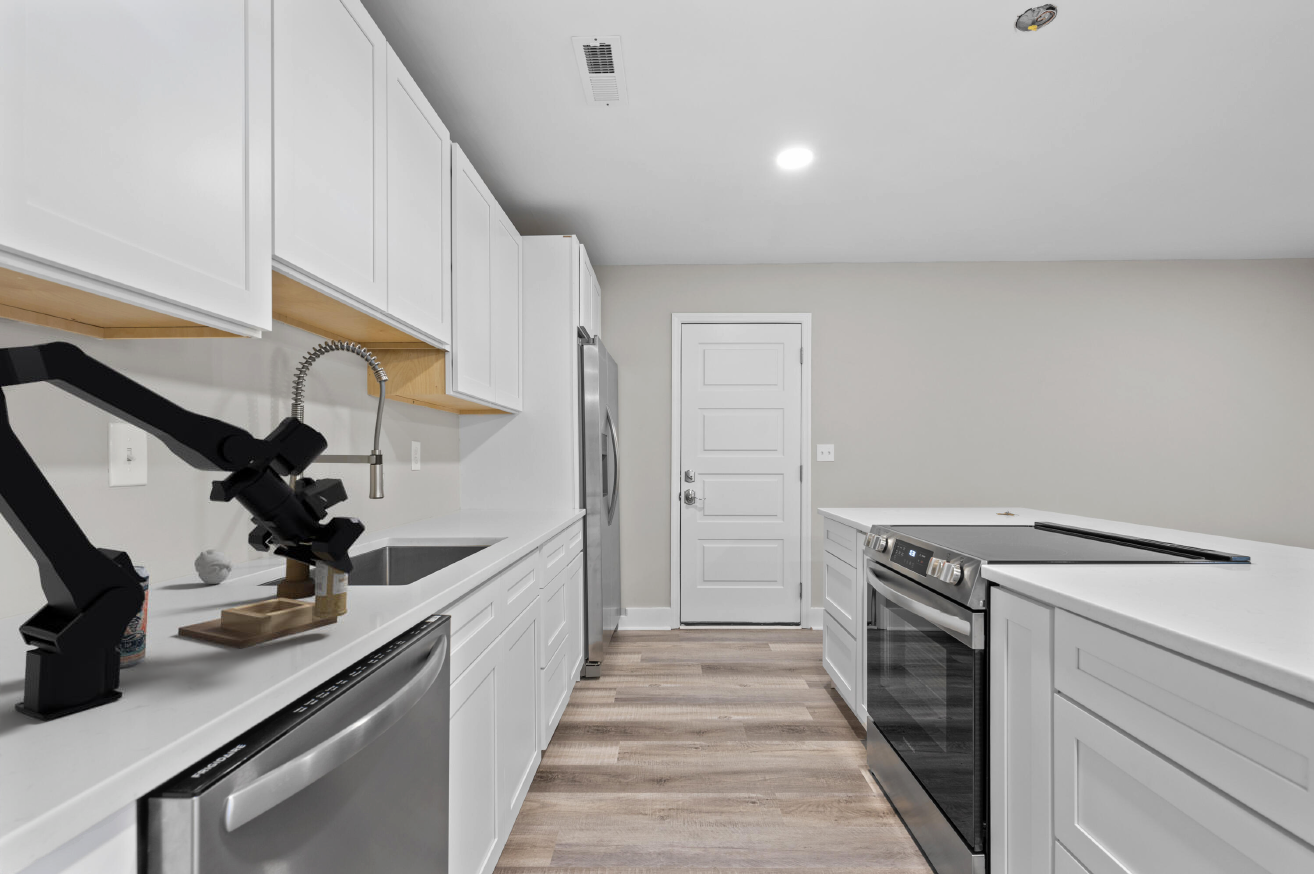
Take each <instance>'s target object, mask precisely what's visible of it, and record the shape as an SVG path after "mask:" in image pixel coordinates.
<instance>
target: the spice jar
mask: <svg viewBox="0 0 1314 874" xmlns="http://www.w3.org/2000/svg"><path fill="white" fill-rule="evenodd" d="M347 552H348V553H349V550H348V551H347ZM314 580H315V595H314V597H315V598H314V599H315V600H314V603H315V611H314V613H313V615H314V616H315V617H318V618H334V617H337V618H338V617H342V616H344V615H345V614H347V612H348V608H347V602H348V601H347V599H348V597H347V596H348V593H347V592H348V586H349V585H348V580H349V574H348V573H344V572H342V571H339V570H336V569H334V568H331V567H329V566H326V565H324V564H321V563H319V562H316V567H315V577H314Z"/></svg>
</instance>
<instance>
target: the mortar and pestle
mask: <svg viewBox="0 0 1314 874" xmlns="http://www.w3.org/2000/svg"><path fill="white" fill-rule="evenodd" d="M285 562H286V563H285V564H286V565H285V566H286V567H285V579H283V580H281V581H280V582H279V583H278V584H277V586H276V599H277V598H287V599H294V600H299V599H306V598H310V597H313V596H314V597H315V578H314V577H310V576H311V575H310V574H311V565H308V564H305V563H301V562H298V561H295V560H291V559H288V558H286V561H285Z"/></svg>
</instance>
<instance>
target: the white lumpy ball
mask: <svg viewBox="0 0 1314 874" xmlns="http://www.w3.org/2000/svg"><path fill="white" fill-rule="evenodd" d="M233 565H234V564H233V563H232V561H231V559H230V557H229V556H227V554H225V553H222V552H221V550H219V549H215V548H212V549H207V550H205V551H201V552H200V554H199V555H198V556H197V557H196V559H195V560H194V569H195V571H196V572H197V573H198V577H199V578H200V580H201V581H202V582H203V583H205V584H207V585H218V584H220V583H223V582H224V581H225V580H227V578H228V577H229V575H230V572H232V568H233V567H234V566H233Z"/></svg>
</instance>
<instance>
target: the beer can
mask: <svg viewBox="0 0 1314 874" xmlns="http://www.w3.org/2000/svg"><path fill="white" fill-rule="evenodd" d="M133 567H134V569H135V570H136V572H137V573H138V574H139V575H140V576H142V577H144V578H145V579H147V581H146V582H143V583H140V584H141V585H142V587H143V589H144V592H145V598H146V599H145V601H144V602H143V605H142V607H141V610H140V611H139V612H138V614H137V615H136V616H135V618H133V619H132V620H131V621H130V623H129V625H128V627H127V629H126V631H125V634H124V636H123V638H122V640H121V642H120V644H119V645H117V646H116V650H118V651H120V652H121V662H120V669H122V668H123V669H124V668H127V667H133V666H134V665H136V664H138V663H140V661H142V660H144V659H145V658H146V651H147V647H146V646H147V628H148V627H147V626H148V608H149V607H148V604H149V602H148V601H149V586H150V585H149V583H150V573H149V572H148V571H147V569H146V567H145V566H143V565H133Z"/></svg>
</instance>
